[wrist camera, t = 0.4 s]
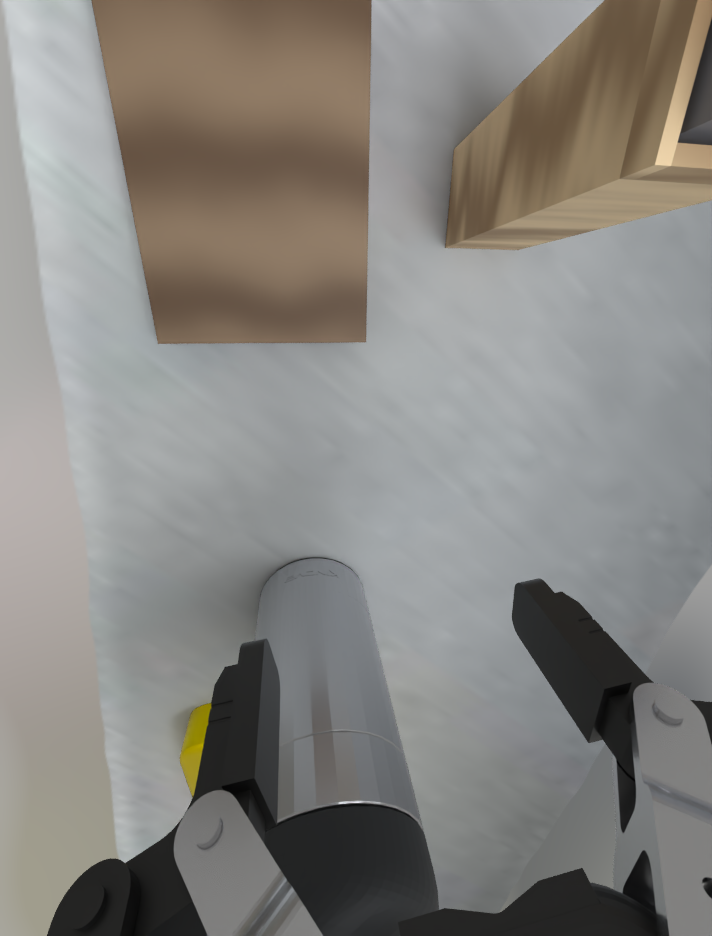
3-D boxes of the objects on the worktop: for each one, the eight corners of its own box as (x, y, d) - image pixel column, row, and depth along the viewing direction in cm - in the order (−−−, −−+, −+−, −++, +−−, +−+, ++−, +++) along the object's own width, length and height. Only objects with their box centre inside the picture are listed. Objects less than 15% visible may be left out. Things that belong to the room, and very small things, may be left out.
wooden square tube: (517, 250, 25) (807, 175, 11) (445, 247, 24) (654, 164, 10) (532, 154, 23) (910, -87, 9) (453, 149, 22) (729, -124, 8)
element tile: (186, 702, 36) (171, 756, 32) (338, 678, 38) (344, 726, 34) (213, 790, 42) (204, 845, 38) (344, 765, 44) (349, 815, 40)
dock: (359, 339, 25) (365, 342, 23) (171, 340, 23) (157, 343, 21) (362, 5, 19) (371, -37, 17) (105, -27, 17) (76, -79, 15)
